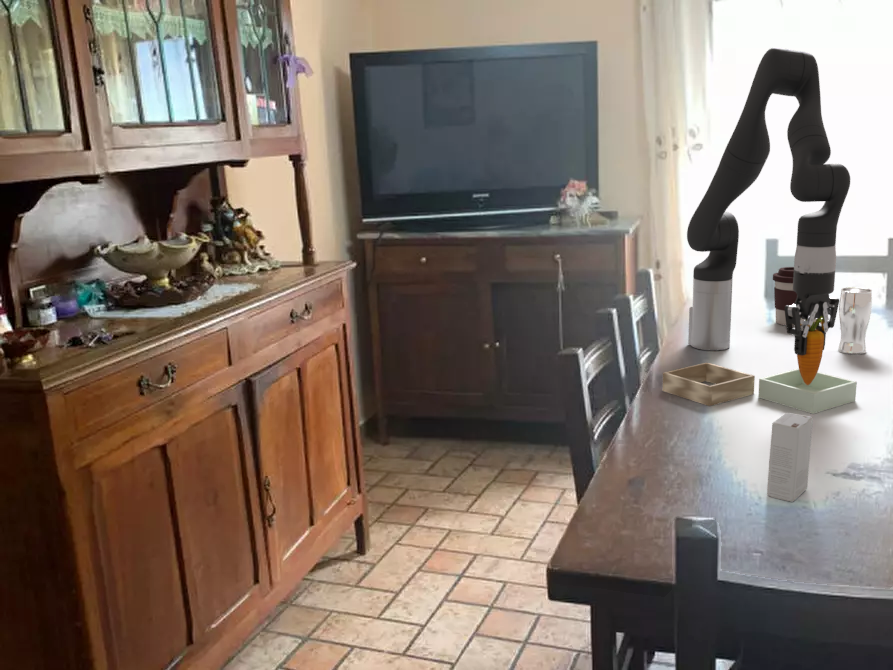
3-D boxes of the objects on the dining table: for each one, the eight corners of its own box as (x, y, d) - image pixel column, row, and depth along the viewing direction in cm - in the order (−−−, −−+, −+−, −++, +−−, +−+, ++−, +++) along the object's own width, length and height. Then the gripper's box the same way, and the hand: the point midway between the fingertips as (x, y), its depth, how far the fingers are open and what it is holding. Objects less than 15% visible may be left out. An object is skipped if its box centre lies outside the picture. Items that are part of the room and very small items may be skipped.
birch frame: (662, 390, 191) (662, 372, 191) (706, 380, 198) (706, 362, 197) (709, 406, 181) (710, 387, 180) (753, 394, 187) (754, 375, 186)
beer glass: (871, 355, 213) (876, 292, 209) (839, 354, 214) (844, 292, 210) (864, 348, 219) (868, 287, 216) (833, 347, 221) (837, 286, 217)
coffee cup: (812, 321, 248) (816, 267, 244) (805, 328, 240) (808, 272, 236) (775, 317, 253) (778, 264, 249) (766, 325, 245) (769, 270, 241)
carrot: (820, 382, 184) (825, 310, 180) (821, 389, 179) (826, 315, 176) (794, 380, 185) (798, 309, 182) (794, 387, 181) (799, 314, 177)
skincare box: (780, 483, 143) (784, 410, 140) (809, 490, 140) (814, 416, 137) (765, 496, 138) (769, 421, 135) (795, 504, 135) (799, 427, 132)
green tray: (758, 397, 185) (759, 378, 184) (800, 385, 192) (801, 367, 191) (813, 413, 174) (814, 393, 173) (855, 400, 181) (856, 381, 180)
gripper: (821, 261, 183) (816, 343, 187) (774, 269, 176) (769, 354, 180) (854, 266, 177) (848, 350, 181) (807, 274, 170) (801, 362, 174)
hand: (809, 351), depth 181 cm, fingers closed on carrot, 5 cm apart
